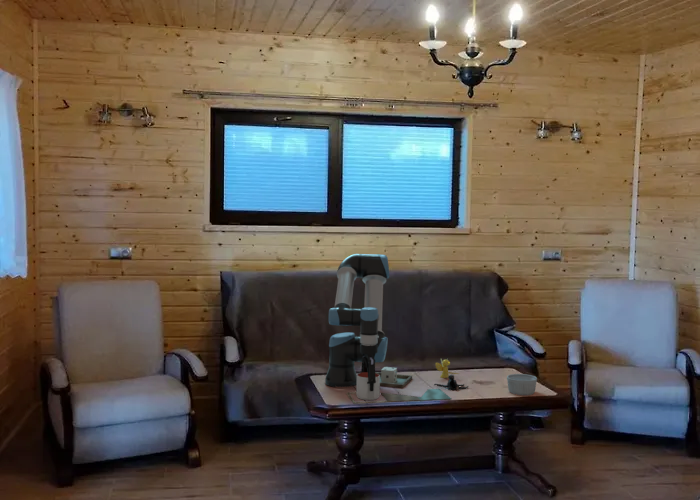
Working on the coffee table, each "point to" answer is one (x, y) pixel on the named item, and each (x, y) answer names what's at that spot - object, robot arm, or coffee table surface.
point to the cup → (363, 386)
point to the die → (389, 375)
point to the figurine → (444, 368)
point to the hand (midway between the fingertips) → (368, 394)
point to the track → (408, 397)
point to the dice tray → (400, 383)
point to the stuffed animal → (452, 384)
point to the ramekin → (521, 384)
